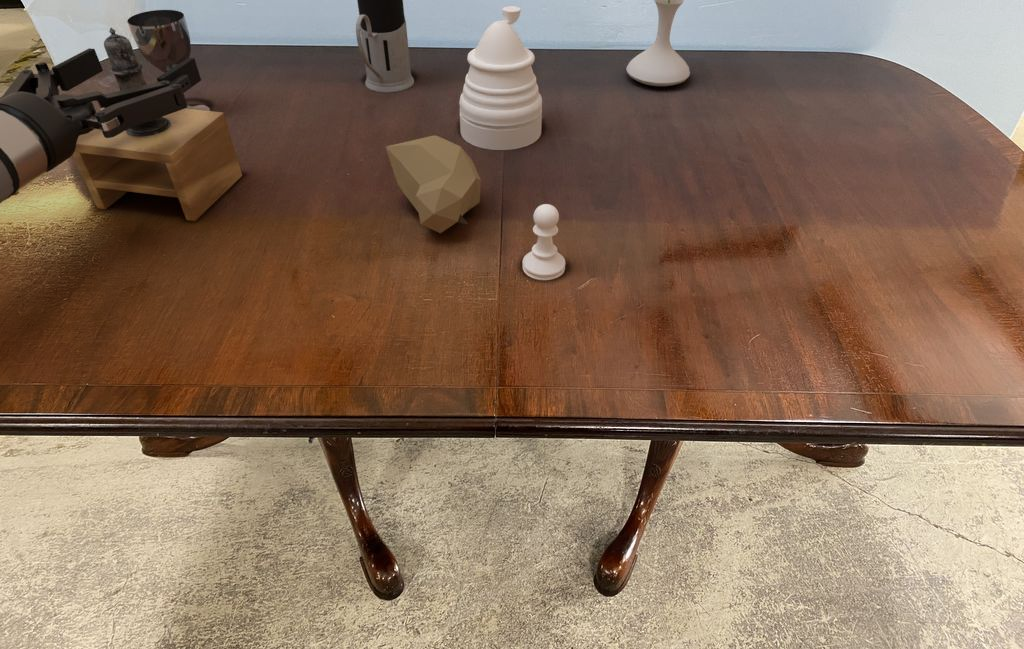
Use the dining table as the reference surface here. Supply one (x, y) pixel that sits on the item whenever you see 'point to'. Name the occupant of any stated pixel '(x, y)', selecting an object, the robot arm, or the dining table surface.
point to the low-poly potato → (436, 180)
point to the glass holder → (384, 45)
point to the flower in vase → (660, 53)
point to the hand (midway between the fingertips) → (145, 64)
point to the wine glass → (163, 40)
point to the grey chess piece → (130, 79)
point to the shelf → (163, 162)
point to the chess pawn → (544, 246)
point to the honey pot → (501, 90)
